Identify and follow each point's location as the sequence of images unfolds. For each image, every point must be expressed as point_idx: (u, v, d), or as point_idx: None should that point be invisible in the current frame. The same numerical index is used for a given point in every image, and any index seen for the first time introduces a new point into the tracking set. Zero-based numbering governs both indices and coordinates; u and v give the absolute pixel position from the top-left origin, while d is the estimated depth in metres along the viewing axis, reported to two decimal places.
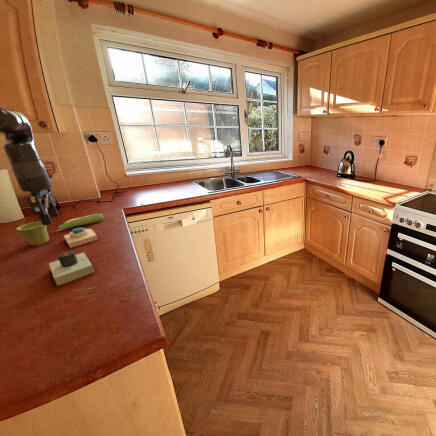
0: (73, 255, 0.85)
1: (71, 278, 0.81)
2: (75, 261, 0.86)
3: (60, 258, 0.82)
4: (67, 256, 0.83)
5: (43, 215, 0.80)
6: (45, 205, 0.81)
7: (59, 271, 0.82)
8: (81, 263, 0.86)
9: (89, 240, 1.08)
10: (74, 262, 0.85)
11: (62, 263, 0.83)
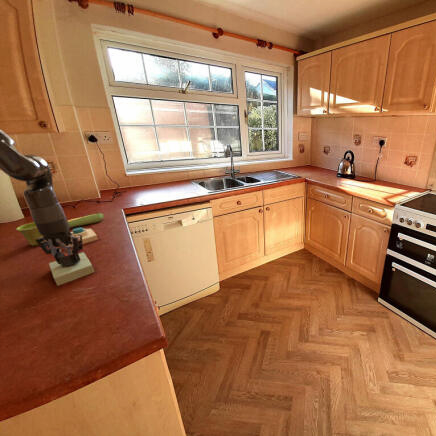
0: None
1: (71, 278, 0.81)
2: None
3: (60, 258, 0.82)
4: (67, 256, 0.83)
5: (76, 253, 0.85)
6: None
7: (59, 271, 0.82)
8: (81, 263, 0.86)
9: (89, 240, 1.08)
10: None
11: (62, 263, 0.83)
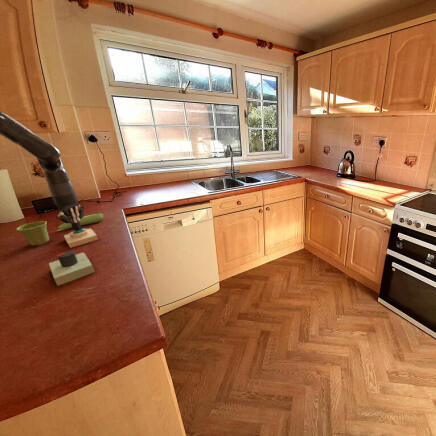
0: (61, 259, 0.83)
1: (71, 278, 0.81)
2: (63, 265, 0.83)
3: None
4: None
5: (73, 223, 1.06)
6: (72, 217, 1.05)
7: (59, 271, 0.82)
8: (81, 263, 0.86)
9: (89, 240, 1.08)
10: (62, 265, 0.83)
11: None
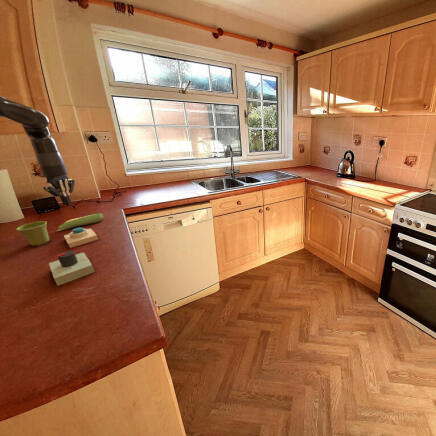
0: (61, 259, 0.83)
1: (71, 278, 0.81)
2: (63, 265, 0.83)
3: None
4: None
5: (62, 197, 1.02)
6: (62, 190, 1.01)
7: (59, 271, 0.82)
8: (81, 263, 0.86)
9: (89, 240, 1.08)
10: (62, 265, 0.83)
11: None
